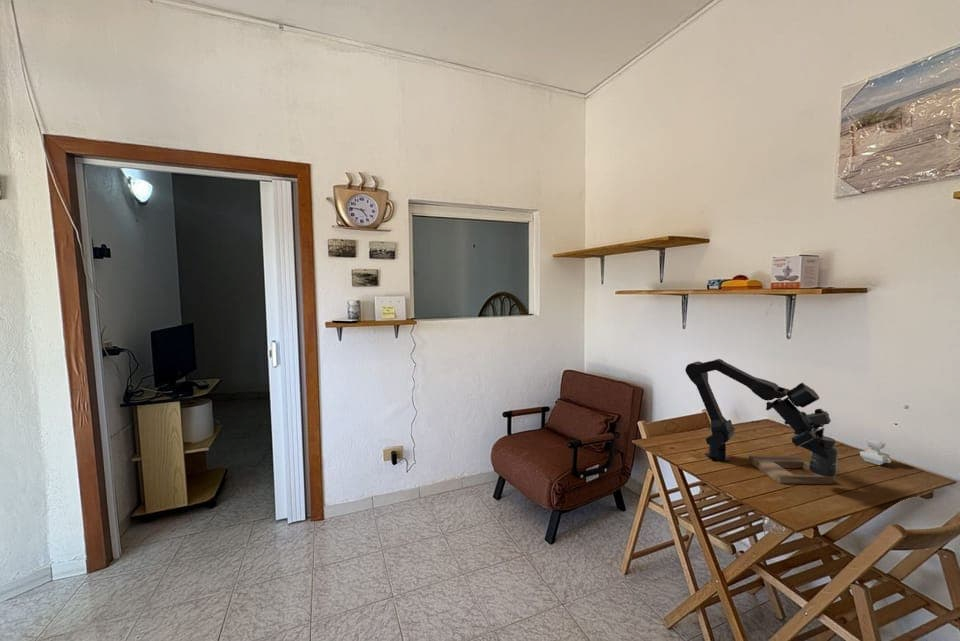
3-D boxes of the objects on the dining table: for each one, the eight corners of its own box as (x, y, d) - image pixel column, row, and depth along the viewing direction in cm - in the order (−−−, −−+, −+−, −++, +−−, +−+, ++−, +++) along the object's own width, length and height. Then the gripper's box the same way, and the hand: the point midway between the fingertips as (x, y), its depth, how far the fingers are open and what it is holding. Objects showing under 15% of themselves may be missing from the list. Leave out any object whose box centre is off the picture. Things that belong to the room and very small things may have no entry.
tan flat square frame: (748, 461, 154) (748, 455, 154) (795, 461, 153) (796, 455, 153) (779, 483, 137) (780, 476, 137) (833, 483, 137) (833, 476, 136)
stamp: (894, 465, 150) (896, 444, 149) (886, 469, 147) (888, 447, 146) (863, 456, 158) (864, 436, 157) (855, 459, 155) (856, 439, 154)
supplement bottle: (838, 479, 128) (841, 444, 127) (811, 474, 132) (814, 439, 131) (833, 470, 134) (836, 436, 133) (807, 466, 138) (810, 432, 136)
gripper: (807, 408, 128) (850, 452, 120) (818, 397, 140) (858, 436, 133) (775, 425, 134) (814, 467, 127) (789, 413, 146) (825, 451, 139)
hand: (829, 455), depth 131 cm, fingers closed on supplement bottle, 7 cm apart
